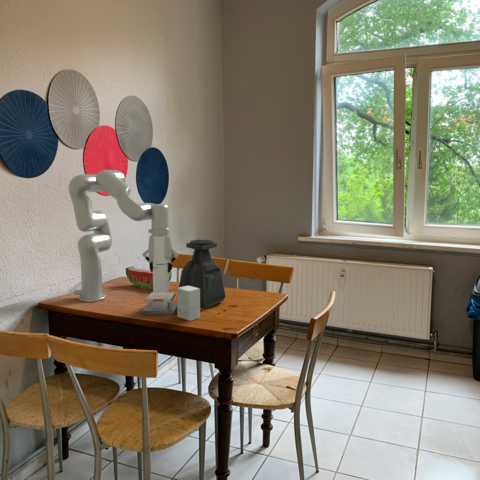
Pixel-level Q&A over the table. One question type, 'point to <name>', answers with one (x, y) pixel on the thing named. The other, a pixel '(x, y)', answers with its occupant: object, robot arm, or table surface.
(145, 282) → the fruit slice
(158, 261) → the cylindrical container
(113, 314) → the table surface
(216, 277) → the bottle
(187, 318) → the small box
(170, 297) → the stand
